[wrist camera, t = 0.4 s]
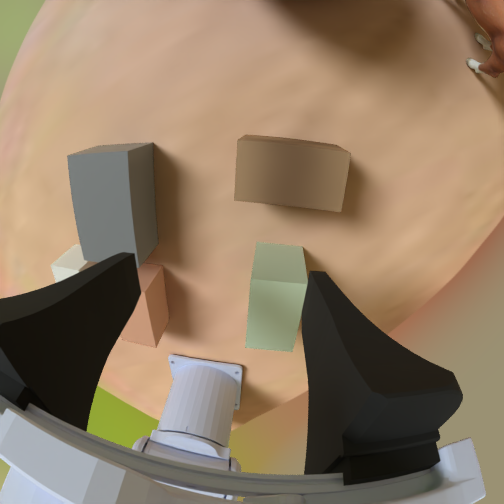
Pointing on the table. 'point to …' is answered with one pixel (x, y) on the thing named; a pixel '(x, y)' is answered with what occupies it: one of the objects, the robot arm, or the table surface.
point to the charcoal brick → (114, 200)
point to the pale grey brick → (70, 263)
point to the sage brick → (276, 296)
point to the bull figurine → (489, 34)
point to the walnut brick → (291, 172)
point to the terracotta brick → (148, 308)
